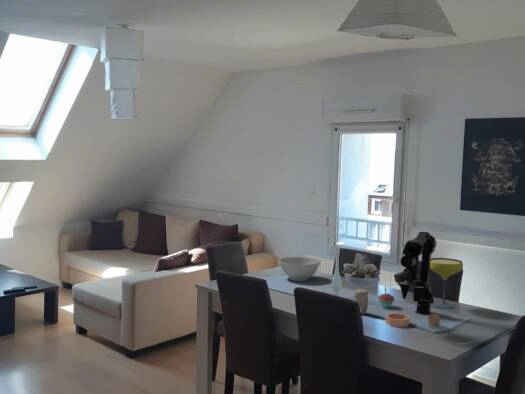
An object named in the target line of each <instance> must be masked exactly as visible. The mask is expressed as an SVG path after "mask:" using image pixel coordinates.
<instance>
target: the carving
mask: <svg viewBox="0 0 525 394" xmlns="http://www.w3.org/2000/svg"><path fill="white" fill-rule="evenodd" d="M354 301H357V302H358V303H359V304H360V308H361V313H362V314H361V315H365V314H366V313H367V310H368V308H369V307H368V306H369V293H368V291H367V290H366V289H360V288H359V289H356V290H355V291H354V295H353V302H354Z"/></svg>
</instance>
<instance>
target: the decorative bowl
mask: <svg viewBox="0 0 525 394" xmlns="http://www.w3.org/2000/svg"><path fill="white" fill-rule="evenodd" d="M278 261H279V266H280V269H281V270H282V272H283V273H284V275H286V276H287V277H289V280H291V281H294V282H305V281H308V280H309V278H312V276H314V274H315V273H316V272H317V271H318V269H319V266H320V262H321V261H320V260H319V259H317V258H313V257H312V258H311V257H306V256H305V257H304V256H289V257H284V258H280V259H279V260H278Z"/></svg>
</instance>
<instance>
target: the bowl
mask: <svg viewBox="0 0 525 394" xmlns="http://www.w3.org/2000/svg"><path fill="white" fill-rule="evenodd" d="M410 321H411V317H410V316H409V315H407V314H405V313H400V312H390V313H389V312H388V313H387V314H385V323H386V324H387V325H388V326H390V327H396V328H405V327H406V328H407V327H408V326H410V325H411V322H410Z"/></svg>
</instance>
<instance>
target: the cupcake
mask: <svg viewBox="0 0 525 394" xmlns="http://www.w3.org/2000/svg"><path fill="white" fill-rule="evenodd" d="M378 301H379V302H380V305H381V307H382V308H384V309H390V308H391V306H392V305H393V303H394V302H395V297H394V296H393V295H391V293H387V287H386V285H384V293H382V294H380V295H378Z"/></svg>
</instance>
